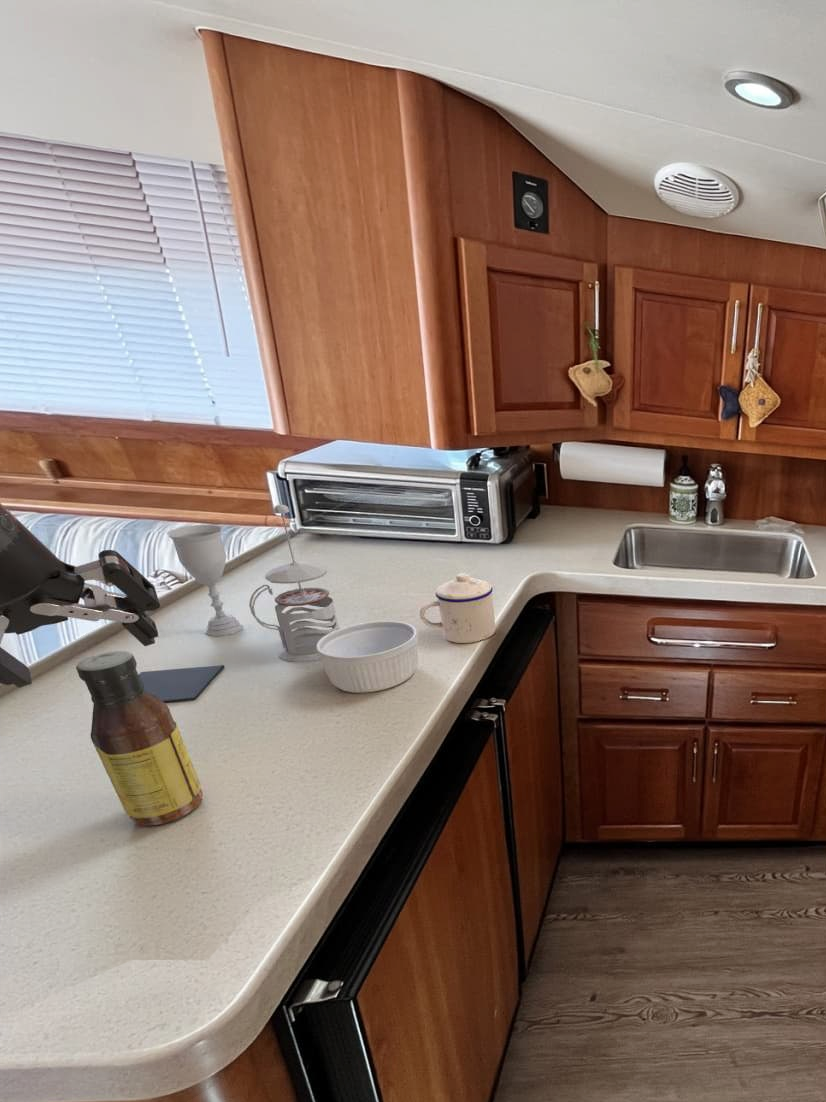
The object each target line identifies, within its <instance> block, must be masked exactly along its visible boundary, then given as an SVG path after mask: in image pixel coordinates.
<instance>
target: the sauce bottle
mask: <svg viewBox="0 0 826 1102" xmlns="http://www.w3.org/2000/svg"><path fill="white" fill-rule="evenodd" d="M137 665H138V663H137V661H136V658H135V657H134V655H133V653H131V652H130V651H127V650H113V651H112V650H111V651H110V650H109V651H107V652H102V653H98V654H94V655H91V656H89V657H85V658H83V659H82V660H79V662H78V663H77V664H76V666H75V669H76V672H77V674H78V677H79V678H80V679H81V681H83V682H84V683H85V686H86V687H87V691H88V692H89V694H90V696H91V702H92V703H93V706H92V717H91V718H92V719H91V729H90V740H91V742H92V744H93V746H94V748H95V750H96V752H97V754H98V757H99V759H100V761H101V763H102V766H103V768H104V771H105V772H106V775H108V778H109V781H110V782H111V784H112V787H113V788H114V791H115V793H116V795H117V797H118V800H119V802H120V804H121V806H122V808H123V810H124V812H125V813H126V815H127V816H129V819H130V820H131V821H133V823H135V824H138V825H139V826H143V827H147V826H148V827H154V826H160V825H165V824H169V823H173V822H175V821H178V820H180V819H181V818H183V817H185V816H187V815H188V814H190V813H192V812H193V811H194V810H196V809H198V807H199V806H200V805H201V804H202V801H203V790H202V789H201V788H202V784H201V781H200V779H199V776H198V774H197V771H196V769H195V767H194V765H193V762H192V758H191V757H190V754H189V751H188V750H187V746H186V745H185V742H184V739H183V736H182V735H181V732H180V729H179V727H178V724H177V722H176V721H175V720H174V718H173V715H172V713H171V709H170V708H169V707H168V704H167V703H164V702H163V701H162V700H160V699H159V698H158V697H157V696H155V695H152V694H150V693H149V692H146V691H145V686H144V684H143V683H142V682H141V680H140V677H139V673H138V671H137Z"/></svg>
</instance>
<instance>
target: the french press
mask: <svg viewBox="0 0 826 1102" xmlns="http://www.w3.org/2000/svg"><path fill="white" fill-rule="evenodd" d="M273 512H274V514H280V515H281V518H282V522H283V527H284V531H285V535H286V539H287V542H288V546H289V547H288V548H289V551H290V555H291V559H292V562H286V563H284V564H281V565H278V566H276V567H273V568H271V569H270V570H269V571H268V572H266V573H265V574H264V579H265V580H267V581H268V582H269V583H272V584H280V585H281V584H298V588H296V589H292V590H287V591H284V592H282V593H279V594H278V595H277V596H276V597H274V602H275V603H276V604H275V606H274V611H275V614H276V618H277V622H278V625H277V624H271V623H266V622H264V621H262V620H261V619H259V617H258V616H256V611H255V605H256V601H257V599H258V597H259V596H260V595H261V594H262V593H264V592H265V591H267V590H268V591H267V592H268V593H269V594H270V595H271V596H273V595H274V594H273V589H272V588H271V587H270V585H268V584H262V585H261V586H259V587H258V588H256V589H255V590H254V592H253V593H252V594H251V596H250V599H249V609H250V613H251V615H252V616H253V618H254V619H255V620H256V622H257V623H258V624H259V625H260V626H262V627H264V628H266V629H269V630H275V631H278V633H279V637H280V641H281V644H282V647H281V649H280V650H279V651H278V657H279V658H280V659H282V660H284V661H287V662H294V663H302V662H314V661H318V660H321V659H320V658H319V657H318V654H317V649H316V645H317V643H318V641H319V640H320V639H321V638H323V637H324V636H325V635H327V634H329V633H331V632H333V631H335V630H338V629H340V627H339V622H338V616H337V614H336V608H335V603H334V600H333V598H332V597H330V596H329V595H330V591H329V590H328V589H325V588H322V587H303V588H302V586H301V583H306V582H310V581H314V580H318V579H320V578H323V577H324V576H325V575H326V574H327V572H328V567H326V566H324V565H322V564H319V563H315V562H309V561H295V558H294V557H295V556H294V553H293V549H292V545H291V542H290V538H289V537H290V536H289V532H288V529H287V525H286V520H285V516H284V514H286V513H289V512H290V509H289V506H287V505H286V504H277V505H275V506H274V508H273ZM264 587H265V588H264ZM263 588H264V589H263ZM261 589H262V590H261ZM259 590H260V591H259ZM258 591H259V592H258ZM304 606H312V607H317V608H319V609H314V608H311V607H304ZM288 607H291V608H290V609H288V610H286V609H287V608H288ZM284 610H286V611H285V612H283V611H284ZM300 611H303V612H300ZM294 612H298V613H294ZM299 612H300V613H299ZM310 620H316V621H321V622H315V621H310ZM314 627H319V628H325V629H319V628H314ZM326 628H327V629H326ZM330 628H331V629H330ZM313 660H314V661H313Z"/></svg>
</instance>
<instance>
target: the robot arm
mask: <svg viewBox="0 0 826 1102" xmlns="http://www.w3.org/2000/svg"><path fill="white" fill-rule="evenodd" d="M97 557H98V559H97V560H94V561H90V562H87V563H84V564H80V565H78V566H76V565H74V564H70V563H67V562H65V561H63V560H61V559H60V558H58V557H57V556H56V555H55V553H53V552H52V551H51V549H49V548H48V547H47V546H46V545H45V544H44V543H43V542H42V541H41V540H40V539H39V538H38V537H37V536H36V535H35V534H33V532H32V531H30V530H29V529H28V528H27V526H25V525H24V524H23V523H22V522H21V521H20V520H19V519H17V517H16V516H15V515H14V514H12V512H10V511H9V510H8V509H7V507H5V506H4V505H3V504H2V503H1V502H0V644H1V643H2V640H3V637H4V635H5V634H16V635H17V636H19V635H22V634H25V633H29V632H32V631H34V630H36V629H38V628H41V627H44V626H49V625H55V624H56V625H57V624H60V623H63V622H66V621H69V618H72V619H76V620H82V621H83V620H84V621H90V622H99V621H100V620H105V621H111V622H118V623H121V625H122V626H123V628H124V629H125V630H127V631H128V633H130V634H131V635H132V636H133V637H134V638H135V639H136V640H137V641H138V642H140V643H141V645H142V646H144V647H148V646H152V645H154V644H156V640H155V638H158V637H159V632H158V628H157V624H156V622H155V621H154V620H153V619H152V618H151V617H150V616H149V615H148V614H147V612H153V611H157V610H159V608H160V607H161V602H160V601H159V596H158V593H157V590H156V587H155V585H153V583H152V582H150V581H149V580H148V578H146V576H144V575H143V574H142V573H140V572H139V570H137V569H136V568H135V567H134V566H133V565H132V564H131V563H130V562H129V561H128V560H126V559H125V558H124V556H122V555H121V554H120V553H119V552H118V551H116V550H113V549H104V550H102V551H100V552H99V553H98V556H97ZM85 581H97V582H99V583H101V584H104V585H105V586H106V587H108V588H109V587H113V586H115V587H116V588H117V589H118V590H119V591H121V592H122V593H123V594H122V593H117V592H113V591H108V590H105V589H104V588H102V587H101V586H99V585H96V584H92V583H87V582H85ZM80 600H83V602H84V604H83V603H80ZM0 684H1V685H4V686H5V685H6V686H11V685H14V686H15V687H16V688H20V689H21V688H24V687H26V686H29V685H32V684H33V682H32V676H31V671H30V668H29V667H28V666H27V665H26V664H24V662H23V661H20V660H19V659H18V658H16V657H15V656H13V655H12V654H11V653H10V652H8V651H7V650H5V649H4V648H2V647H1V646H0Z"/></svg>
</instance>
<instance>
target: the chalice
mask: <svg viewBox="0 0 826 1102" xmlns="http://www.w3.org/2000/svg"><path fill="white" fill-rule="evenodd" d="M222 531H223V527H222V526H220V525H215V524H197V525H196V524H194V525H193V524H192V525H187V526H181V527H177V528H173V529H171V530H168V531H167V532H166V535H167V537H169V538H170V539H171V540H172V542H173V545H174V549H175V552H176V554H177V559H178V561H179V563H180V564H181V565H182V566H183V568H184V569H185V570H186V571H187V573H189V575H191V577H193V578H194V579H195V580H196V581H197V582H198V583H199V584H201V585H205V586H207V587H208V593H207V596H208V597H210V599H211V604H210V607H213V609H214V610H215V614H214V616H212V617H210V619H209V620H208V621H207V626H206V630H205V634H206V635H207V636H209V637H210V636H212V637H220V636H227V635H232V634H234V633H237V632H239V631H241V630H243V629H244V625H243V623H241V622H240V621H239V619H237V618H236V616H234V615H233V614H227V613H226V612H224V611H223V606H224V604H225V603H224V602H223V601H221V599H220V595H221V593H220V591H218V589H217V588H216V584H217V583H219V582H221V580H222V577H223V574H224V570H225V567H226V561H227V553H226V550H225V546H224V543H223V539H222V535H221V534H222Z"/></svg>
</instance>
